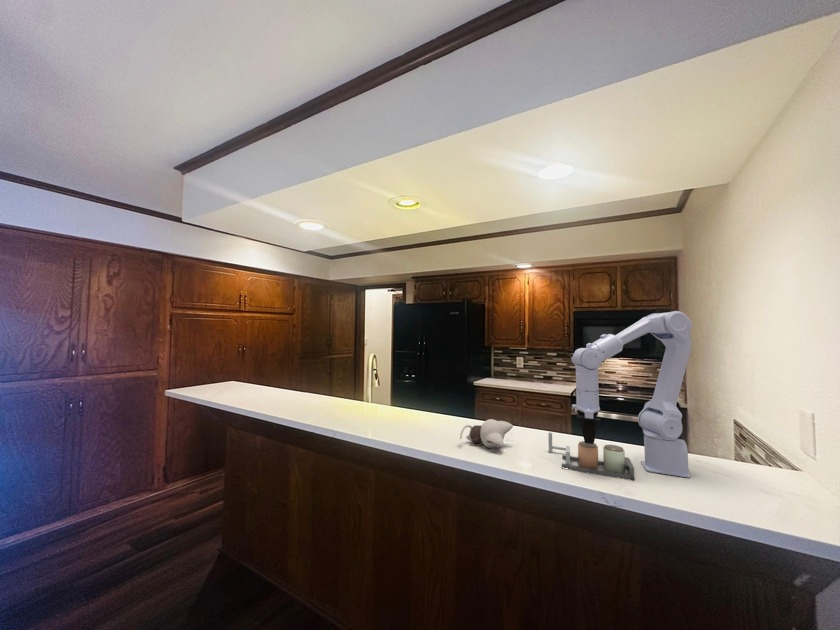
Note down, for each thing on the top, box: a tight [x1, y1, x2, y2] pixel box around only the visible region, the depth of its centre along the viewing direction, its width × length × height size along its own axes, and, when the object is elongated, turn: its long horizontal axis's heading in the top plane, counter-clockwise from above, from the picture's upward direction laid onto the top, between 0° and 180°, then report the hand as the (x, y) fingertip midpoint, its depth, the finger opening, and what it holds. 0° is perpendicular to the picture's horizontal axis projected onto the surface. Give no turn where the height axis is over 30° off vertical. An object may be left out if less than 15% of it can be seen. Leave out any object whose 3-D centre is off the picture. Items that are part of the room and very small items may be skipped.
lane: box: [561, 454, 636, 481], centre depth 90 cm, size 17×8×3 cm, turn 65°
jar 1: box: [577, 440, 599, 469], centre depth 91 cm, size 5×5×6 cm
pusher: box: [548, 431, 571, 465], centre depth 97 cm, size 6×12×6 cm, turn 155°
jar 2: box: [602, 444, 626, 474], centre depth 89 cm, size 5×5×6 cm
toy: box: [459, 418, 514, 450], centre depth 108 cm, size 13×9×15 cm
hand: (588, 439), depth 92 cm, fingers open, 7 cm apart
